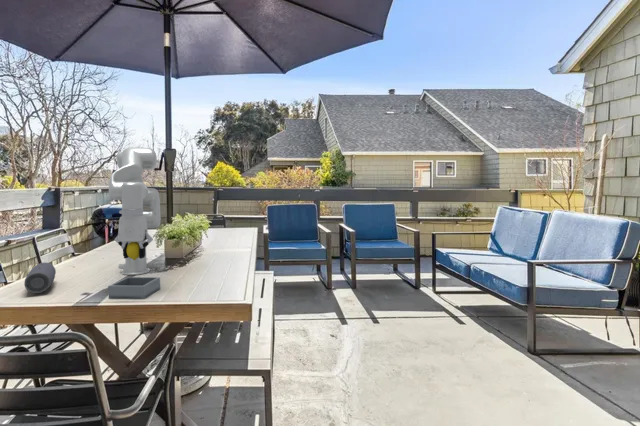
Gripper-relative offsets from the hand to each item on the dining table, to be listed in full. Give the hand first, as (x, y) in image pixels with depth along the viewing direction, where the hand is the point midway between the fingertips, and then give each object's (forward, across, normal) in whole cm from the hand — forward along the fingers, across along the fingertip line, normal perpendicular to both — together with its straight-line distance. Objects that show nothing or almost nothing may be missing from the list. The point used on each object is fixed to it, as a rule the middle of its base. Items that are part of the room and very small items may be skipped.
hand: (134, 257), depth 152 cm
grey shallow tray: (+15, 0, 0) cm, 15 cm away
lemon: (+1, 0, 0) cm, 1 cm away
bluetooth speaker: (+15, -43, +5) cm, 46 cm away
